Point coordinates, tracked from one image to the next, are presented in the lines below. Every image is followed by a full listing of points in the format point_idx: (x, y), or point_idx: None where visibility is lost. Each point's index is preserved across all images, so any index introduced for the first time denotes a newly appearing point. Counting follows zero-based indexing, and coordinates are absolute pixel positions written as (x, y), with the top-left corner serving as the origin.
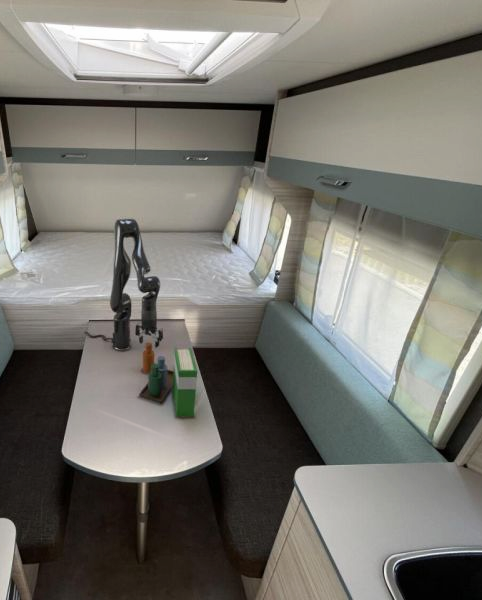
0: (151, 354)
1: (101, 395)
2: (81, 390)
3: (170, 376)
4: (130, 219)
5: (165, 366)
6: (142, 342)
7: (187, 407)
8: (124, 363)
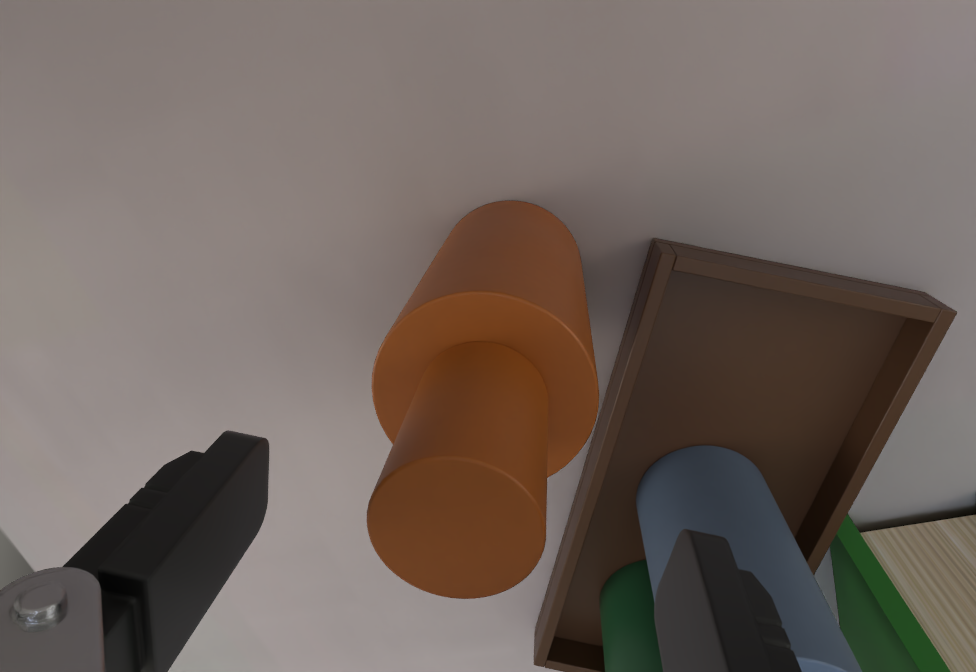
0: (550, 439)
1: (250, 651)
2: None
3: (804, 339)
4: None
5: None
6: (263, 469)
7: None
8: (181, 206)
